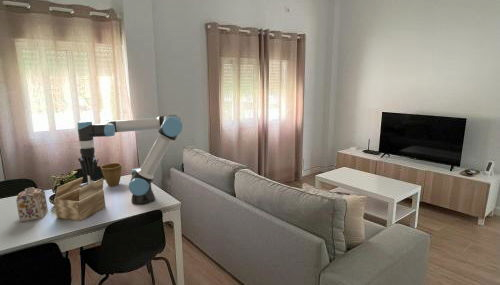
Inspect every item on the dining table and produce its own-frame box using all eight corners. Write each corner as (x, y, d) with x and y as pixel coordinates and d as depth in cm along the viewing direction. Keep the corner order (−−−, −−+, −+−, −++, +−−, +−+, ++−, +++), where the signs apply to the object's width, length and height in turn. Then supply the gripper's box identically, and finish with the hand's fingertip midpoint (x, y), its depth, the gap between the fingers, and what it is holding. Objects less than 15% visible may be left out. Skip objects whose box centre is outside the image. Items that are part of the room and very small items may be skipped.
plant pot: (106, 182, 245) (104, 163, 241) (126, 181, 246) (124, 162, 243) (100, 189, 230) (97, 168, 227) (120, 188, 232) (118, 168, 228)
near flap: (102, 189, 194) (102, 189, 194) (79, 200, 176) (79, 201, 176) (103, 178, 192) (103, 178, 192) (79, 188, 174) (80, 188, 174)
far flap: (55, 198, 181) (54, 198, 181) (80, 187, 198) (79, 187, 198) (58, 187, 178) (57, 187, 178) (82, 177, 196) (82, 177, 196)
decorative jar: (41, 219, 182) (37, 190, 178) (19, 221, 179) (13, 193, 175) (48, 211, 193) (44, 184, 189) (27, 213, 190) (22, 186, 186)
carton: (106, 206, 198) (104, 189, 195) (80, 221, 178) (78, 202, 175) (83, 204, 202) (81, 187, 200) (56, 218, 182) (53, 199, 180)
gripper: (100, 146, 180) (104, 184, 185) (83, 144, 184) (87, 181, 189) (91, 149, 173) (95, 188, 178) (72, 147, 177) (77, 186, 182)
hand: (91, 184), depth 184 cm, fingers closed
